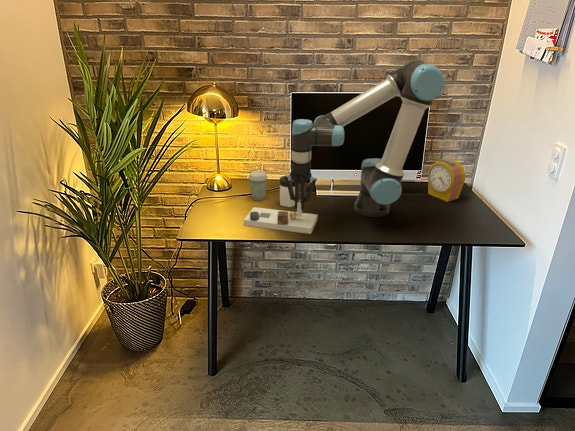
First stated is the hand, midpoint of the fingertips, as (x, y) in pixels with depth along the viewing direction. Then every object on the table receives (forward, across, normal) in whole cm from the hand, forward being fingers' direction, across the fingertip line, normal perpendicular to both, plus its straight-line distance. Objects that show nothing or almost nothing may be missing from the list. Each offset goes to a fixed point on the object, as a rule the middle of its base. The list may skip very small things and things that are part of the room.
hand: (299, 215), depth 185 cm
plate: (+4, +8, 0) cm, 9 cm away
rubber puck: (+2, +18, +4) cm, 18 cm away
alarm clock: (+4, -58, -48) cm, 76 cm away
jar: (+4, +10, -20) cm, 23 cm away
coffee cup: (+5, +25, -22) cm, 34 cm away
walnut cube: (+2, +6, +4) cm, 7 cm away
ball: (0, +3, 0) cm, 3 cm away
